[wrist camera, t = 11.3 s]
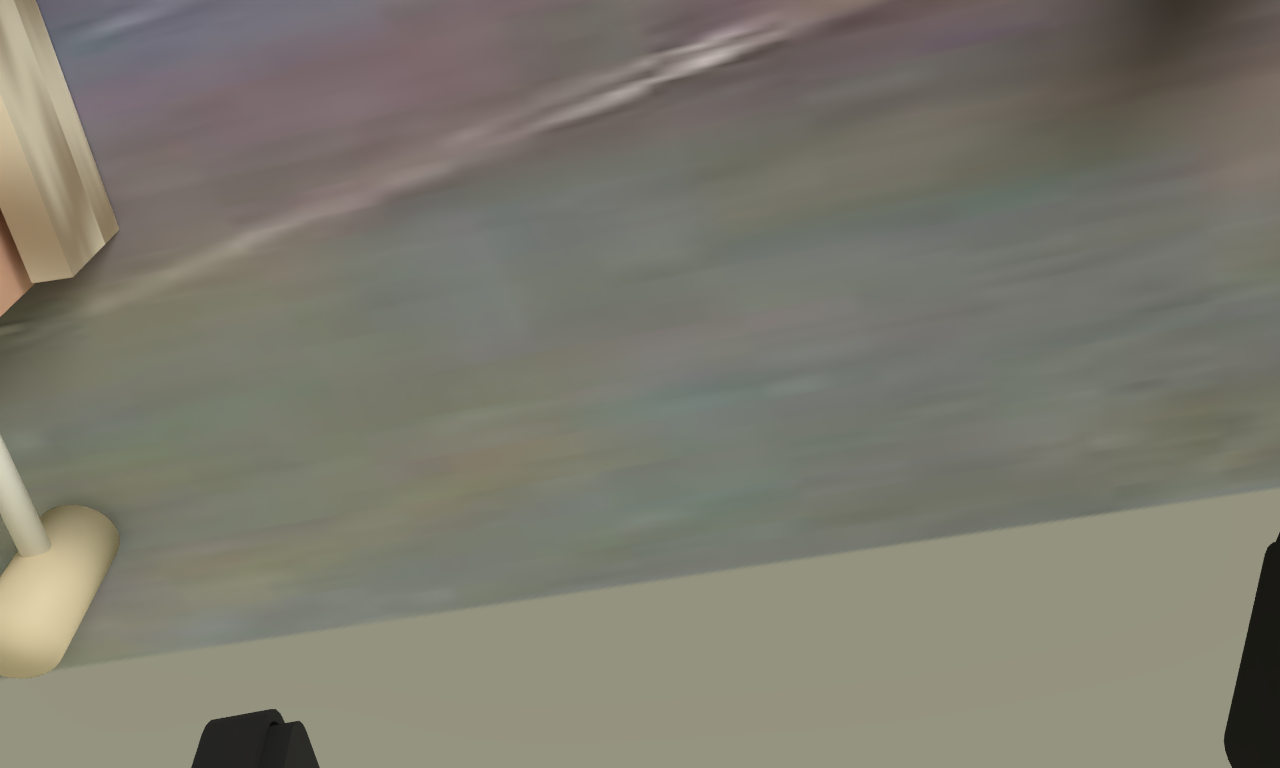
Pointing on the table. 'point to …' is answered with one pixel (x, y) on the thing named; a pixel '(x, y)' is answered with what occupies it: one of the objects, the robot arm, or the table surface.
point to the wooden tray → (45, 155)
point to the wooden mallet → (43, 544)
